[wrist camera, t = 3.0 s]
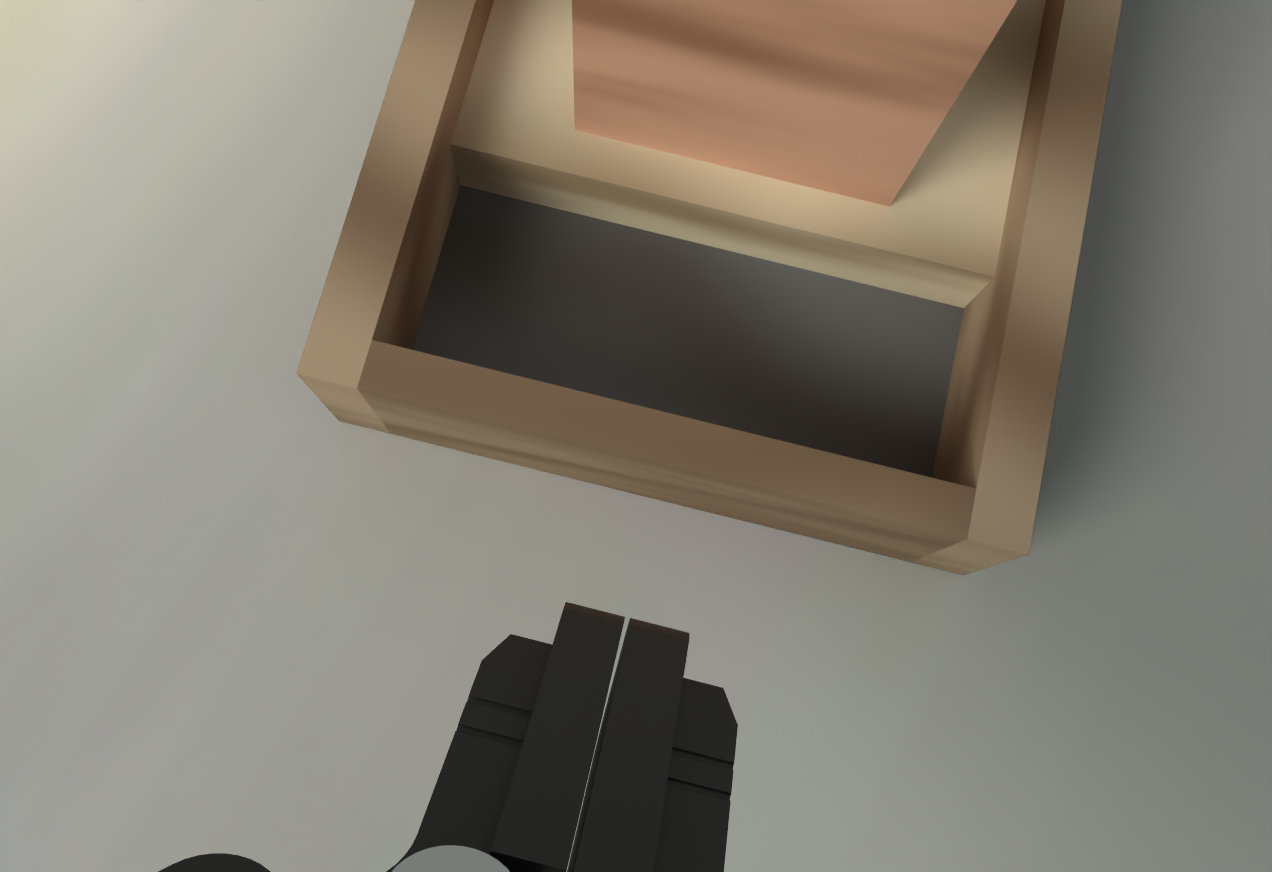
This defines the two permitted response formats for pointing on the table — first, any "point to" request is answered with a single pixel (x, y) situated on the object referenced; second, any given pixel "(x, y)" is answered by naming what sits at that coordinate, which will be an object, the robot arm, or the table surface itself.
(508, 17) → the trough
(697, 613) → the table surface
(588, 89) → the block
